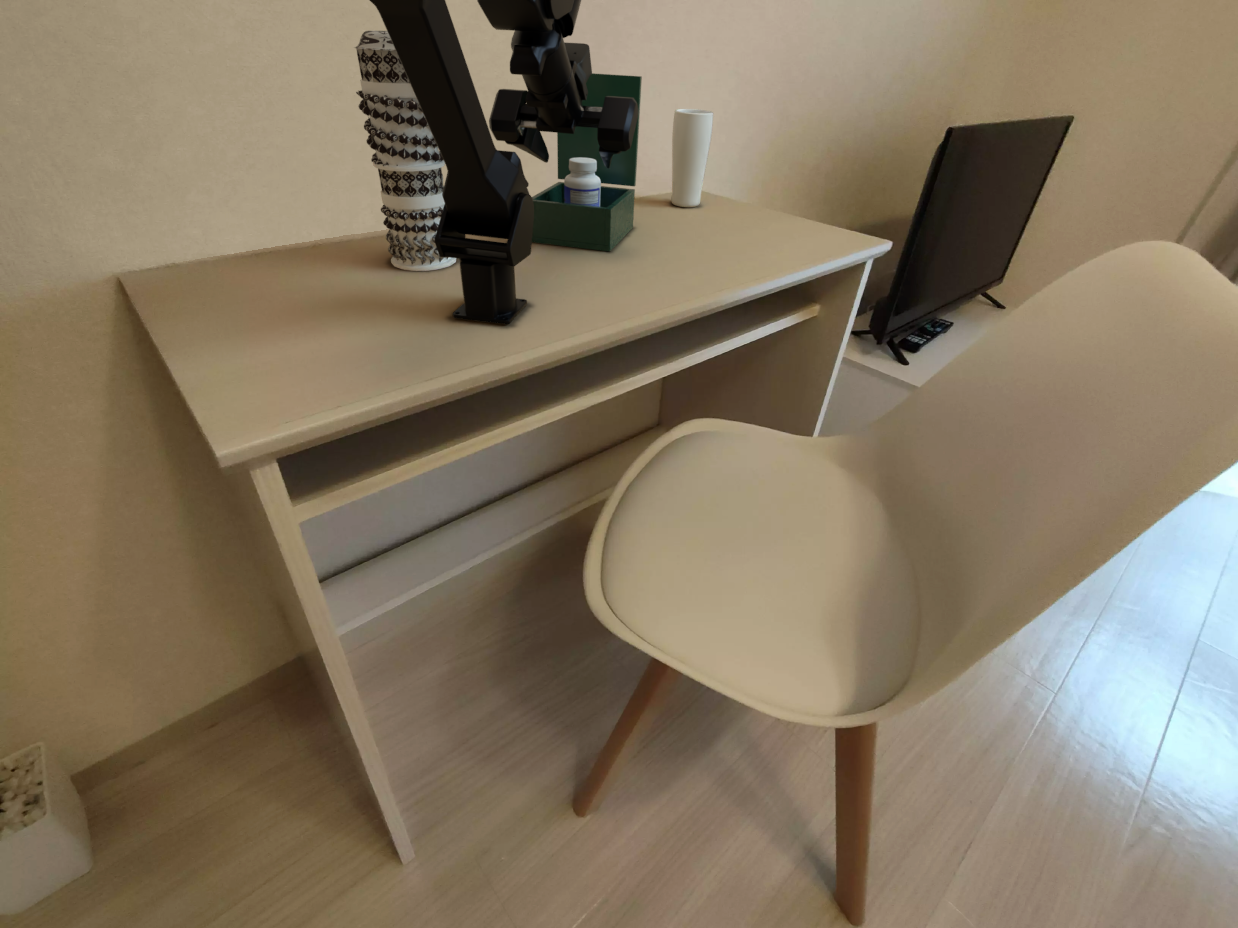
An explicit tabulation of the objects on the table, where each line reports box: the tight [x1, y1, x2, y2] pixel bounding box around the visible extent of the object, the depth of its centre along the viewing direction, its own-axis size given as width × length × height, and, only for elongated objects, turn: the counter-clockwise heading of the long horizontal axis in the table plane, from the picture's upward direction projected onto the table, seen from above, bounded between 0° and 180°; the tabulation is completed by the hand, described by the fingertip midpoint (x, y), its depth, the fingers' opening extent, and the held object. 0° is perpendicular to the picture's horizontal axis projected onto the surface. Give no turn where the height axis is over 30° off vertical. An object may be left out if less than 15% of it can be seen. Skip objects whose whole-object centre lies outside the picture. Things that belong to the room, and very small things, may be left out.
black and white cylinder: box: [353, 30, 458, 272], centre depth 74 cm, size 9×9×25 cm
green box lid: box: [556, 72, 643, 187], centre depth 93 cm, size 14×13×4 cm
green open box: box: [531, 181, 636, 252], centre depth 92 cm, size 14×13×6 cm
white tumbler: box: [670, 108, 714, 208], centre depth 108 cm, size 7×7×15 cm
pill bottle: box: [563, 157, 602, 207], centre depth 91 cm, size 5×5×10 cm
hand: (577, 162), depth 86 cm, fingers open, 9 cm apart
